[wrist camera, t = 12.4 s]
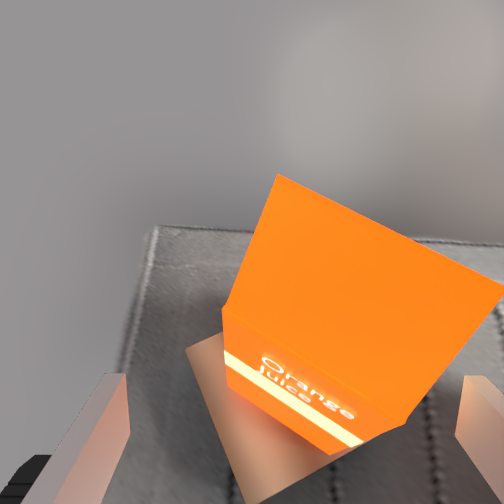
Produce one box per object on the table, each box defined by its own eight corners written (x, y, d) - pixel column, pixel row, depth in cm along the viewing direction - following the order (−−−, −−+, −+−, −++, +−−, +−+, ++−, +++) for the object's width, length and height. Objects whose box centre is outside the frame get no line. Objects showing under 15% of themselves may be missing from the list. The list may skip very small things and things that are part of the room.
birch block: (303, 320, 41) (314, 289, 34) (367, 434, 36) (395, 425, 29) (196, 370, 39) (184, 348, 32) (248, 501, 34) (247, 509, 27)
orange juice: (329, 457, 28) (479, 398, 11) (225, 386, 30) (211, 244, 13) (374, 364, 31) (540, 207, 14) (278, 307, 34) (322, 113, 16)
